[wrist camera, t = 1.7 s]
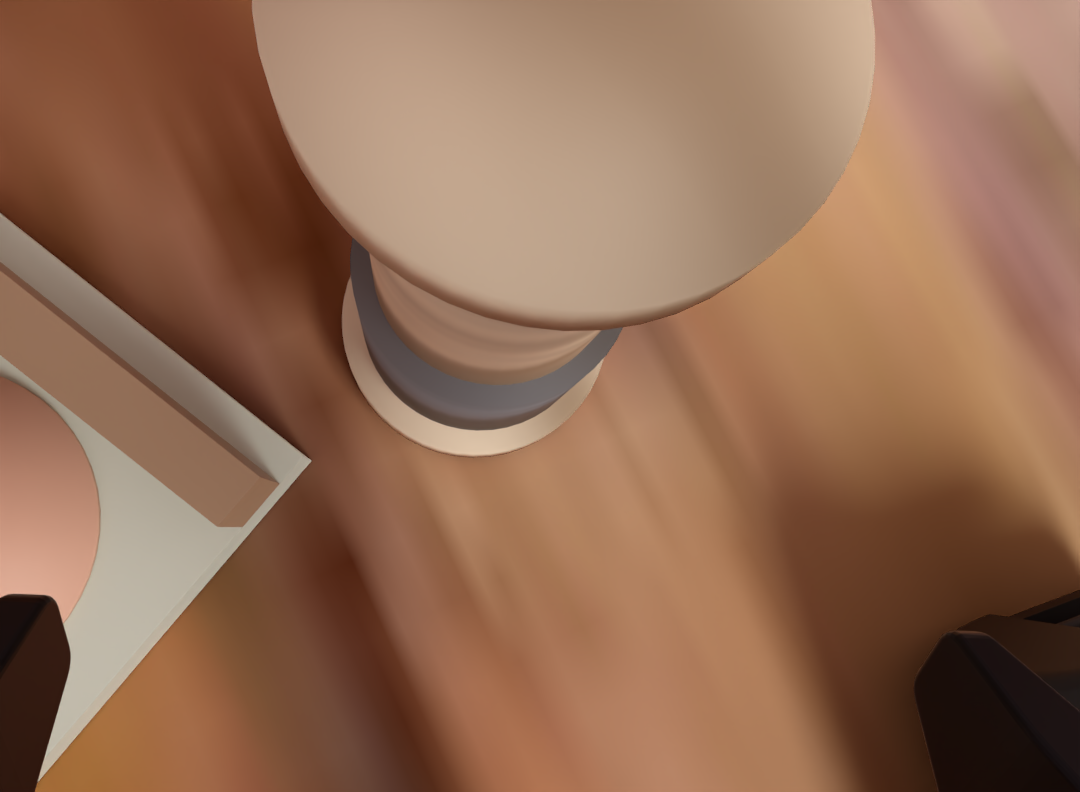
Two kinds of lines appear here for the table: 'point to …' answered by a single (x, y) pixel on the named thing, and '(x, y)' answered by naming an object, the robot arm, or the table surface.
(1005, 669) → the robot arm
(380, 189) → the bobbin
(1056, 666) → the end cap
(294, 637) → the table surface
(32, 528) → the cream cradle stand
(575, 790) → the table surface
